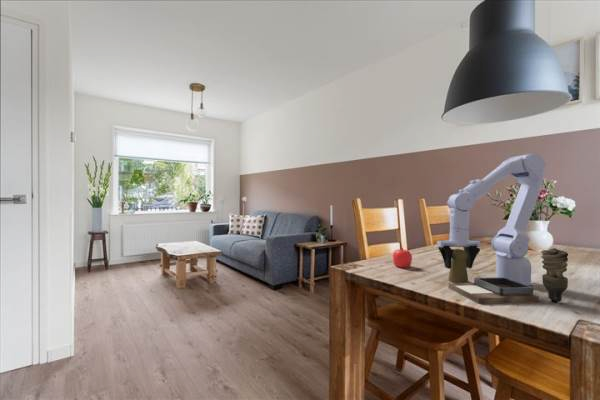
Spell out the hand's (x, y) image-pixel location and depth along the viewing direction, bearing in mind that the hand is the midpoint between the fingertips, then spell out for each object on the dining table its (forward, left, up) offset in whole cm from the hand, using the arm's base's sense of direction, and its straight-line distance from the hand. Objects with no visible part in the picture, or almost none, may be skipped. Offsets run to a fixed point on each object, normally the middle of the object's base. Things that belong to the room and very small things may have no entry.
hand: (458, 267), depth 95 cm
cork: (0, 0, -5) cm, 5 cm away
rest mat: (+4, +13, -3) cm, 14 cm away
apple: (+10, -21, -5) cm, 24 cm away
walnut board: (-1, +13, -5) cm, 14 cm away
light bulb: (-14, +20, -5) cm, 25 cm away
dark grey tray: (-5, +13, -3) cm, 14 cm away
